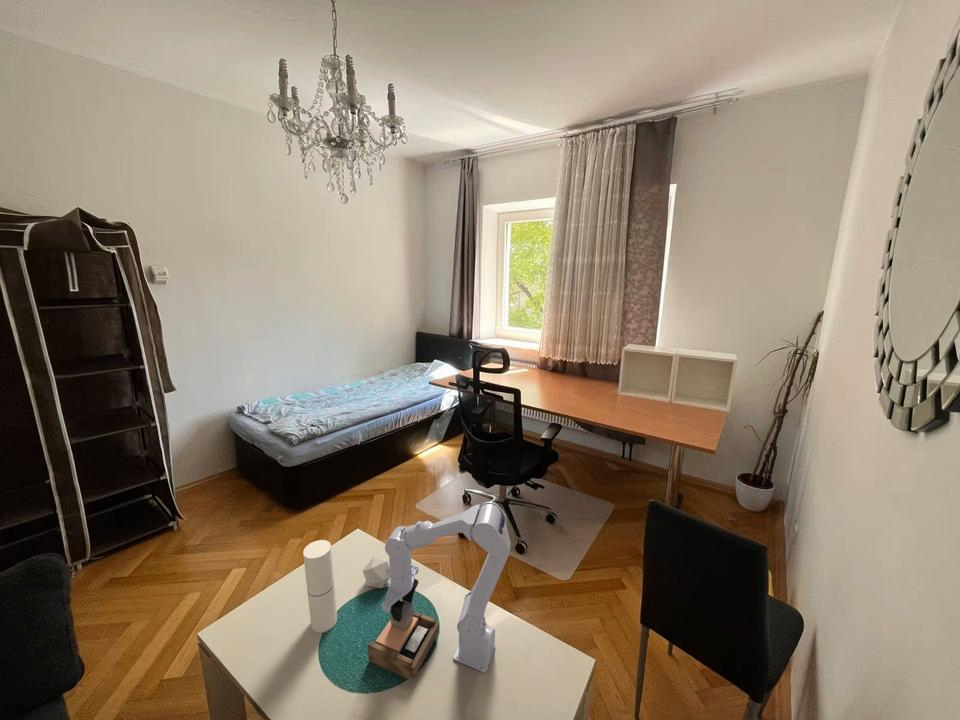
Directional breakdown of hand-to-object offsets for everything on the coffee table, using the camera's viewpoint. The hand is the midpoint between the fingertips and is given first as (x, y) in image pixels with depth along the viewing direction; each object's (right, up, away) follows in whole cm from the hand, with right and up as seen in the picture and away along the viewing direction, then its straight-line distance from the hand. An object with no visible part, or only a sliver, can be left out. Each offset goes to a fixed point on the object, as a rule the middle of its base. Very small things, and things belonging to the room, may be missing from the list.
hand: (402, 611), depth 104 cm
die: (-12, -4, +21) cm, 25 cm away
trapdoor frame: (+1, -9, -1) cm, 9 cm away
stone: (0, -3, +1) cm, 3 cm away
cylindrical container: (-24, -7, +7) cm, 26 cm away
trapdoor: (+1, -6, -1) cm, 7 cm away
